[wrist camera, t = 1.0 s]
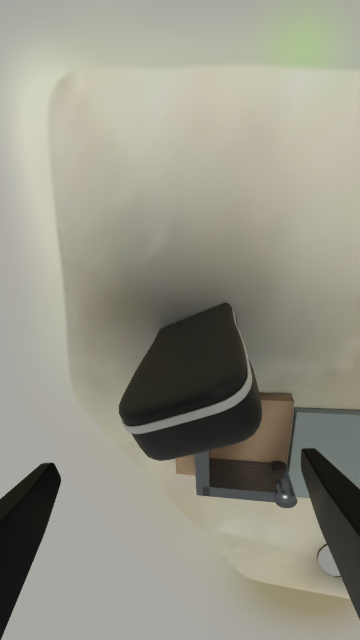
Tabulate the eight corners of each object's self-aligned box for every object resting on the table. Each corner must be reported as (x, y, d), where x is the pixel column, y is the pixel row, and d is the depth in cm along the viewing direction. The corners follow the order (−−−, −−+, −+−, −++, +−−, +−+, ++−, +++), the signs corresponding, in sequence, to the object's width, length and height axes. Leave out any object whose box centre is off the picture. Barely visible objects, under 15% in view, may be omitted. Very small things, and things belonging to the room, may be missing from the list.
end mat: (403, 412, 21) (408, 416, 21) (375, 498, 25) (379, 504, 25) (294, 407, 23) (296, 412, 22) (284, 490, 26) (285, 495, 26)
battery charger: (174, 363, 23) (140, 482, 12) (156, 328, 22) (101, 424, 11) (247, 338, 21) (281, 452, 10) (231, 299, 20) (250, 379, 9)
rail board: (290, 394, 22) (294, 401, 21) (281, 473, 26) (283, 482, 25) (171, 390, 24) (170, 396, 23) (178, 465, 27) (176, 473, 26)
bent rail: (294, 406, 21) (307, 434, 18) (285, 474, 24) (295, 508, 21) (192, 402, 23) (189, 428, 20) (195, 467, 26) (193, 499, 23)
